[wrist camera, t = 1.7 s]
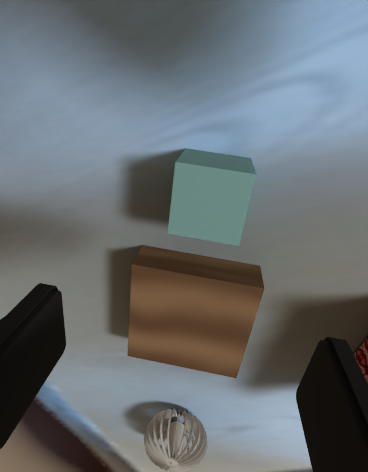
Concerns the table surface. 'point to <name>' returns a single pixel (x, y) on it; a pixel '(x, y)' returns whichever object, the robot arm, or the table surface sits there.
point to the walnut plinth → (192, 309)
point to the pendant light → (175, 441)
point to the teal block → (211, 196)
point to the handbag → (363, 358)
